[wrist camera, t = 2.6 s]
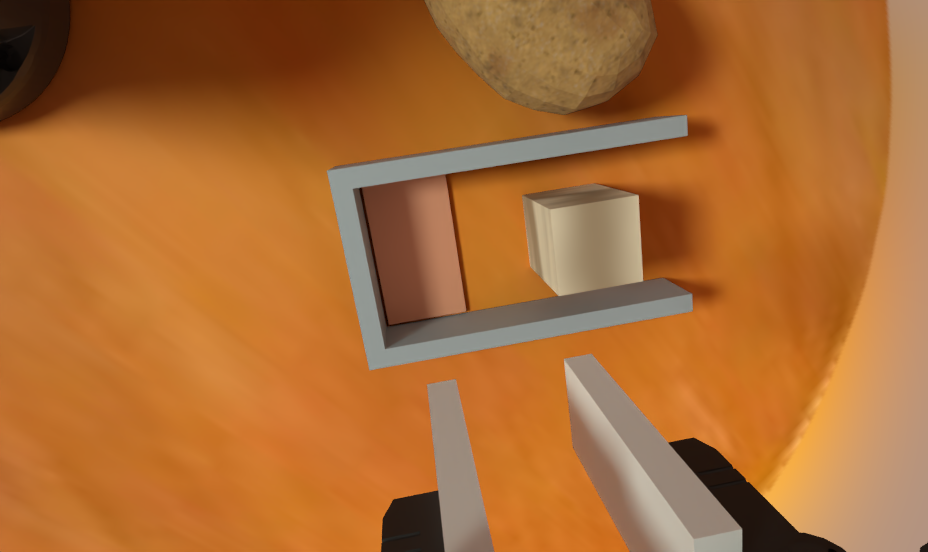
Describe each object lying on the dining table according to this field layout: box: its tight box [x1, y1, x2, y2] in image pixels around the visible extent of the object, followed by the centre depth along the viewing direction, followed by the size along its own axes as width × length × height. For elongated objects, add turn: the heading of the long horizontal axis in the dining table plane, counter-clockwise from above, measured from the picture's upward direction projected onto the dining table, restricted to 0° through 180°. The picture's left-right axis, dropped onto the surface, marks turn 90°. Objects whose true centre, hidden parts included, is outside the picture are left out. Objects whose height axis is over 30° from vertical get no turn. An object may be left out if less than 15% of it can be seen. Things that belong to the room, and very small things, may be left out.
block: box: [522, 183, 643, 296], centre depth 33 cm, size 5×5×7 cm
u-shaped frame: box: [327, 115, 693, 370], centre depth 34 cm, size 21×12×4 cm, turn 98°
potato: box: [424, 0, 657, 115], centre depth 29 cm, size 10×14×8 cm
